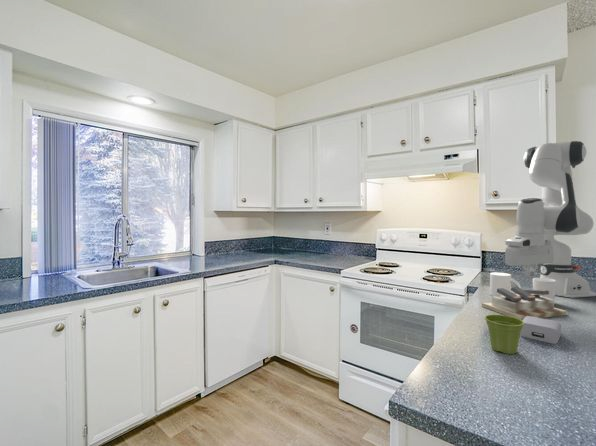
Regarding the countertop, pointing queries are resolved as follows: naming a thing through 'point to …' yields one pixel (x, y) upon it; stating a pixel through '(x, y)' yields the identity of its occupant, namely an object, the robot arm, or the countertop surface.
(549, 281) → the white cup
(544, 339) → the charger
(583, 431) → the countertop surface
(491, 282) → the mug
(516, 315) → the switch panel
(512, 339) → the plant pot
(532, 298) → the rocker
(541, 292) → the rocker
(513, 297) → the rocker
